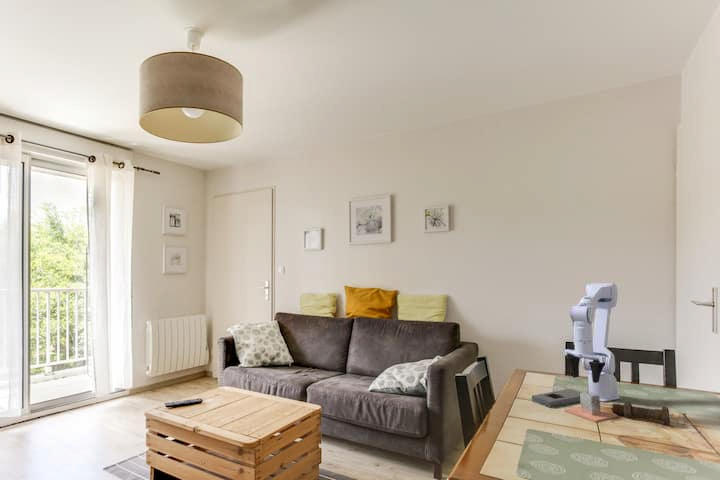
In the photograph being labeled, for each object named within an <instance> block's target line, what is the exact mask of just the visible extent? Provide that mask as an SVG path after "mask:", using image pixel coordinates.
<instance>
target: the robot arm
mask: <svg viewBox="0 0 720 480" xmlns="http://www.w3.org/2000/svg"><path fill="white" fill-rule="evenodd" d="M585 293H586V295H584V296H583V297H581V299H580V300H579V302H578V303H577V304H576V305H574V306H572V307H570V310H569V318H570V320H571V326H572V327H573V342H574V349H569V348H568V349H566V348H565V349H563V350H564V355H565V356H564V360H565V361H566V363H567V364H568V366H569V369H570V371H571V374H572V377H573V379H574V378H580V377H579V376H580V361H581V364H582V365H581V366H582V368H583V370H585V371H586V373H587V378H588V379H587V380H588V392H591V393H595V394H598V395H599V397H600V402H604V403H605V402H609V401H616V400H619V399H621V397H620V396H618V381H617V378H616V377H615V375H614V373H615V371H616V359H615V358H616V357H615V355H614V353H613V352H612V351H611V350H609V349H608V343H609V342H608V339H609V331H610V330H609V328H610V322H611V321H610V319H611V312H612V309H613V308H615V307H616V306H617V303H618V296H619V295H618V287H617V285H616V284H615V283H614V282H610V283H609V282H607V283H603V282H601V283H599V282H598V283H595V282H594V283H593V282H588V283H587V284H586V286H585ZM594 319H595V320H594ZM592 323H594V330H593V325H592Z"/></svg>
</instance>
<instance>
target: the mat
mask: <svg viewBox="0 0 720 480" xmlns="http://www.w3.org/2000/svg"><path fill="white" fill-rule="evenodd" d="M564 412H566V413H568V414H571V415H574V416H576V417H577V416H578V417H580V418H582V419H585V420H588V421H591V422H594V423H597V422H598V423H599V422H602V421H607V420H610V419H615V418H618V417H619V414H615V413H613V412H609V411H606V410H603V409H600V414H596V415H590V414H587V413H584V412H581V406H577V407H572V408H571V407H570V408H566V409H564Z"/></svg>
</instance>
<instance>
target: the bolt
mask: <svg viewBox="0 0 720 480" xmlns="http://www.w3.org/2000/svg"><path fill="white" fill-rule="evenodd" d="M611 413H613V414H616V415H622V416H624V417H625V418H626V419H633V417H635V418H641V419H647V420H651V421H652V420H654V421H658V422H662V425H663V426H667V427H670V426H671V418H670V416H671V415H670V410H669V407H668V406H664V405H661V409H660V408H659V409H657V408H648V407H639V406H633V405H632V403H631V402H624V403H623V404H621V403H620V404H619V403H613V404H611Z"/></svg>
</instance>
